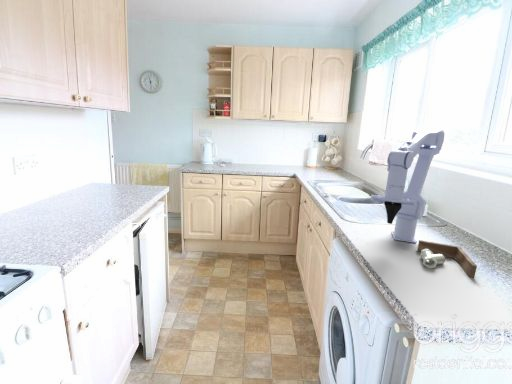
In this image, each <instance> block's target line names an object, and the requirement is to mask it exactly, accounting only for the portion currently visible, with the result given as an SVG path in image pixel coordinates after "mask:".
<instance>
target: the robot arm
mask: <svg viewBox="0 0 512 384" xmlns="http://www.w3.org/2000/svg"><path fill="white" fill-rule="evenodd" d="M444 140H445V132H444V130H443V129H421V128H416V129H415V130H414V131H413V133H412V136H411V140H406V141H405V142H404V143H403V144H402V145H401V146H400V147H399V148H398V149H393V150H392V151H390V152H389V153H388V156H387V158H386V159H387V160H386V162H387V168H386V169H387V172H388V175H387V180H386V187H385V191H384V192H385V193H384V195H382V194H381V195H379V194H378V195H377V194H370V195H371V196H370V201H371V202H381V203H383V204H384V207H385V211H386V218H387V219H386V223H387V224H388V225H389V224H391V225H392V224H393V221H394V219H395V218H396V220H395V224H394V230H392V231H391V235H392V238H393V240H394V241H401V242H406V243H414V244H416V243H417V240H416V238H415V234H416V230H417V225H418V220H420V219H422V218H423V216H424V214H425V210H426V209H425V208H426V200H425V199H424V197H423V196H422V195H421V193H422V190H423V187H424V185H425V181H426V179H427V176H428V172H429V170H430V166H431V163H432V161H433V158H434V156H436V155H438V154H440V151H441V150H442V147H443V143H444ZM417 155H418V157H417V161H416V164H415V167H414V169H413V172H412V176H411V178H410V181H409V185H408V187H407V190H406V191H405V188H406V183H407V182H406V181H407V176H408V170H409V169H410V168H411V166H412V164H413V162H414V158H415V157H416V156H417Z"/></svg>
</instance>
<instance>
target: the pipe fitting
mask: <svg viewBox="0 0 512 384" xmlns="http://www.w3.org/2000/svg"><path fill="white" fill-rule="evenodd" d="M419 256H420V257H421V258H422V260H423V261H422V264H423V265H424V266H425V267H426V268H427V269H434V268H436V267H437V265H444V264H445V262H446V256H443V255H442V254H433V252H432V251H430V250H429V249H423V250H421V252H420V255H419Z"/></svg>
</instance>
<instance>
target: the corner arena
mask: <svg viewBox="0 0 512 384" xmlns="http://www.w3.org/2000/svg"><path fill="white" fill-rule="evenodd" d="M417 244H418V245H417V250H416V251H417V252H418V253H421V250H423V249H429V250H430V251H432V252H433V255H434V254H442V255H443V256H444V257H445V258H453V259H455V261H456V262H457V263H458V264H459V266H460V267H461V269H462V270H463V271H464V272H465V274H466V275H467V277H469V278H471V279H475V278H476V277H475V276H476V273H477V267H478V265H477V264H476V263H475V262H474V261H473V260H472V259H471V257H469V255H468V254H467V253H466V252H465V250H464V249H463V248H462V247H461V246H458V245H453V244H447V243H446V244H445V243H438V242H434V241H427V240H420V239H419V240H418V243H417Z"/></svg>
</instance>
